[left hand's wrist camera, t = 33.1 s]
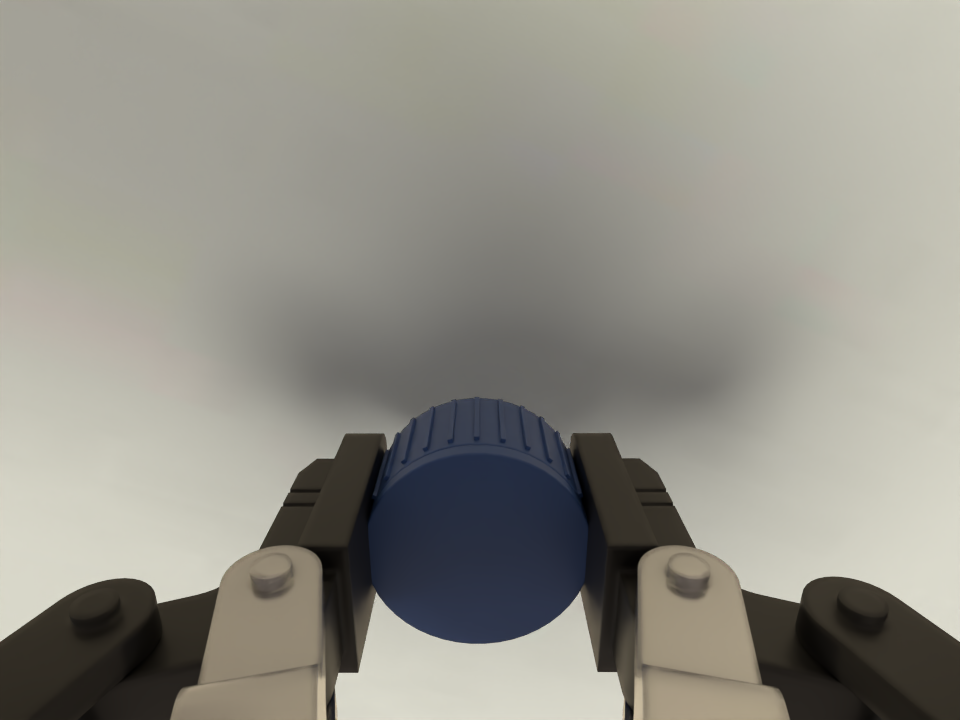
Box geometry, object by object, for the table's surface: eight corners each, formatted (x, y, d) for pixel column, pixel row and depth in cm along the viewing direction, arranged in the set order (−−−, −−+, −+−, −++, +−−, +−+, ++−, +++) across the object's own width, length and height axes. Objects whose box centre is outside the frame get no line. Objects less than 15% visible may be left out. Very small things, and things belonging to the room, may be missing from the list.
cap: (607, 429, 12) (633, 490, 10) (536, 587, 13) (546, 670, 11) (411, 368, 11) (397, 419, 9) (357, 536, 13) (334, 614, 11)
